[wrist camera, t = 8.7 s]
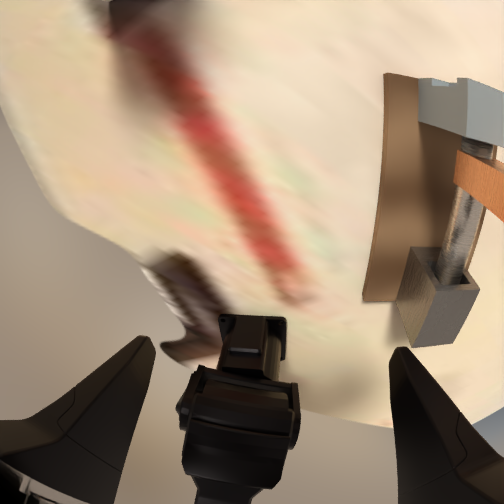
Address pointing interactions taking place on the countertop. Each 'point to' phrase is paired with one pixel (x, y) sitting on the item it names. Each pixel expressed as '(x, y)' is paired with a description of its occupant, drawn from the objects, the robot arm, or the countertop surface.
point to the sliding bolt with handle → (469, 205)
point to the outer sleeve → (432, 300)
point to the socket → (463, 108)
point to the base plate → (410, 188)
